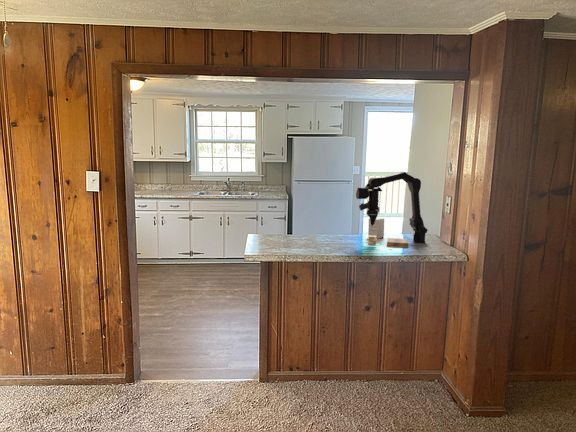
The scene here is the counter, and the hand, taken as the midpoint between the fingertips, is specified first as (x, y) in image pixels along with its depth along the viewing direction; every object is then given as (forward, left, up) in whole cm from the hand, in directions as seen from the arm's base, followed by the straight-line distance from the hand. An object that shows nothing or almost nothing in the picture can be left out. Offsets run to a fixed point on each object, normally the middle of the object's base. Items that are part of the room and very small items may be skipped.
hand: (372, 224), depth 252 cm
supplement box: (-1, -19, -12) cm, 22 cm away
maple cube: (0, 0, -12) cm, 12 cm away
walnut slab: (-15, 0, -12) cm, 19 cm away
